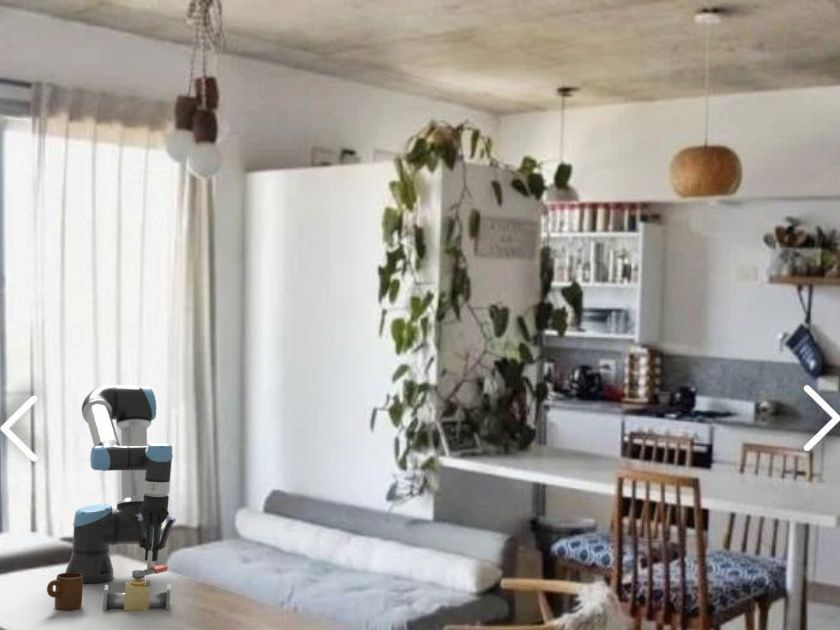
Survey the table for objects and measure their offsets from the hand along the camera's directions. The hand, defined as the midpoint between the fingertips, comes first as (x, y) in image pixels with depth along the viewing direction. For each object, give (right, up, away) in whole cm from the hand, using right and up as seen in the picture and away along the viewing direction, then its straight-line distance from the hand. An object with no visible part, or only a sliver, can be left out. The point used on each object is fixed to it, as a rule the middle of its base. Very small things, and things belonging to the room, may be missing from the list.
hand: (150, 571), depth 318 cm
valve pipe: (-2, -9, -8) cm, 12 cm away
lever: (+1, 0, -4) cm, 4 cm away
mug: (-22, -8, -14) cm, 27 cm away
